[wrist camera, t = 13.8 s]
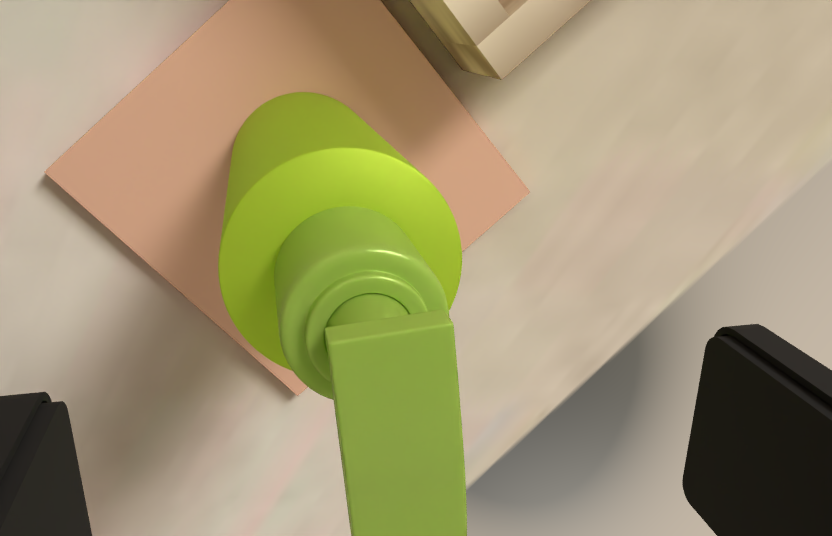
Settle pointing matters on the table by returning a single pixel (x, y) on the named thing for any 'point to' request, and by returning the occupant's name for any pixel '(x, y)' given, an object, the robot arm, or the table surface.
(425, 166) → the plate
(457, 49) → the open box
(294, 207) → the soap dispenser
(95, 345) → the table surface
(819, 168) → the table surface
